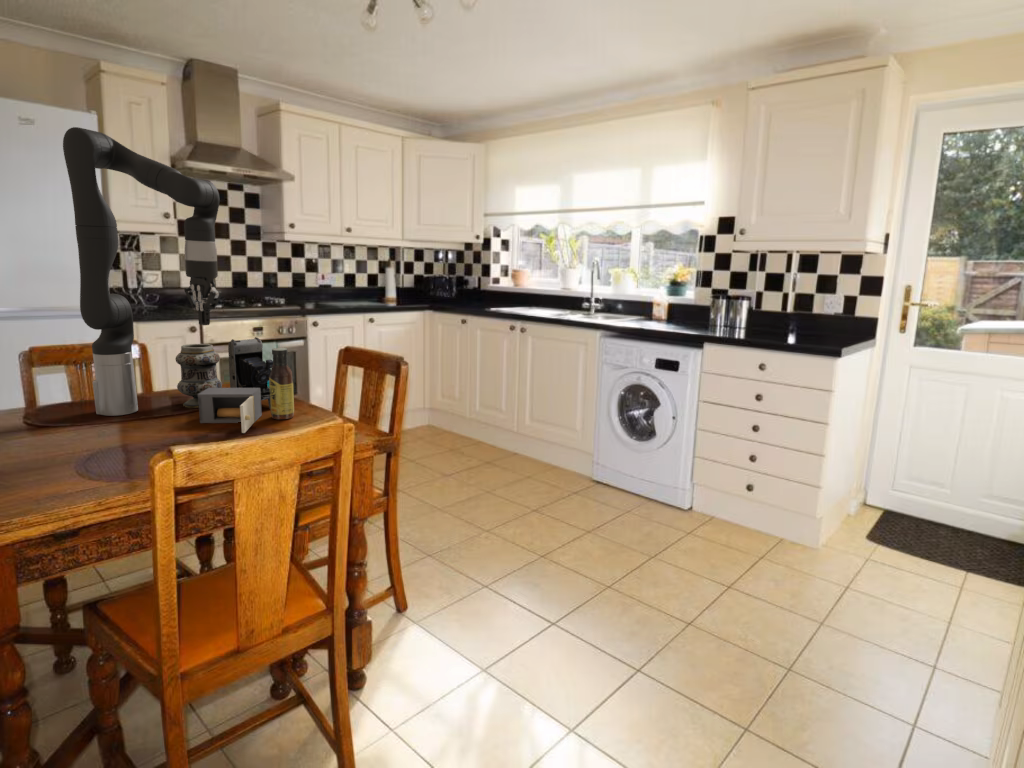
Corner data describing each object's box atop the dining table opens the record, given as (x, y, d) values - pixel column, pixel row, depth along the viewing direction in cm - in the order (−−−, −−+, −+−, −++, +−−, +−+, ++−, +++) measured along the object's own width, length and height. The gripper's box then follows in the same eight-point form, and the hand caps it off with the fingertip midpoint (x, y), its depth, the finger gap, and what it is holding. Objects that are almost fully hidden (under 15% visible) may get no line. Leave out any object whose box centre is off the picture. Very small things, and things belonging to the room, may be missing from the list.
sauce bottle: (270, 415, 174) (266, 347, 170) (293, 413, 177) (290, 346, 172) (271, 421, 168) (267, 350, 164) (295, 419, 171) (292, 349, 166)
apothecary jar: (230, 399, 191) (225, 342, 187) (212, 409, 179) (208, 348, 175) (190, 398, 190) (185, 341, 186) (170, 408, 178) (165, 348, 174)
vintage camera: (257, 413, 177) (255, 346, 173) (229, 402, 186) (227, 338, 182) (286, 408, 185) (285, 343, 180) (258, 398, 194) (257, 336, 189)
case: (200, 423, 165) (197, 394, 163) (210, 415, 173) (208, 387, 171) (254, 422, 167) (252, 394, 165) (261, 414, 175) (260, 387, 173)
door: (249, 432, 156) (247, 405, 155) (241, 433, 156) (239, 405, 155) (258, 421, 167) (257, 395, 165) (251, 421, 166) (250, 395, 165)
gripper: (230, 260, 159) (232, 326, 163) (199, 257, 165) (202, 321, 169) (203, 260, 153) (206, 328, 156) (172, 257, 159) (175, 323, 163)
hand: (204, 324), depth 163 cm, fingers closed
